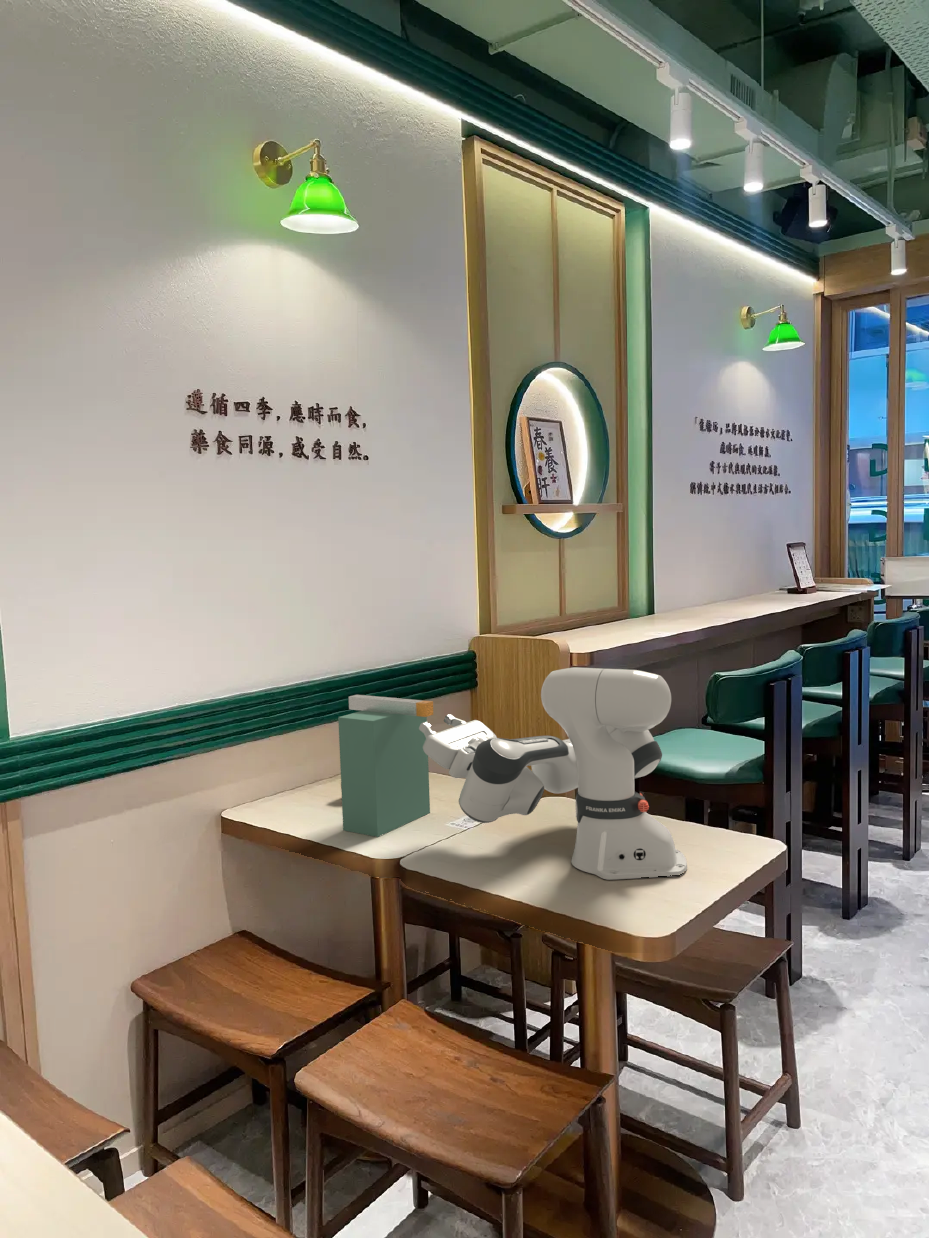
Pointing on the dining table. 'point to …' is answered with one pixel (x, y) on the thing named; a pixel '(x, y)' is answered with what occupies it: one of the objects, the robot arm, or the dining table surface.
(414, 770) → the green box
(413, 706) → the lever bar
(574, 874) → the dining table surface
